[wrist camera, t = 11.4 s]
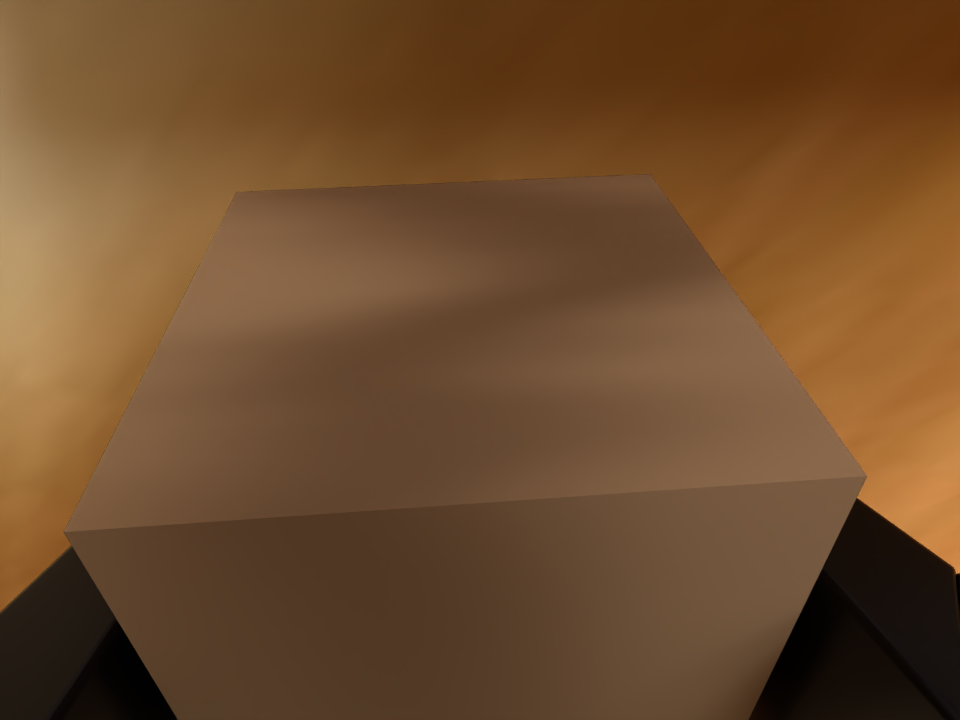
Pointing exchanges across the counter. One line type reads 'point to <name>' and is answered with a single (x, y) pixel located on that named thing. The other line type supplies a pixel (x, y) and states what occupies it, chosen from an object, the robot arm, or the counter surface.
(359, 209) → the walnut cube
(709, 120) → the counter surface
